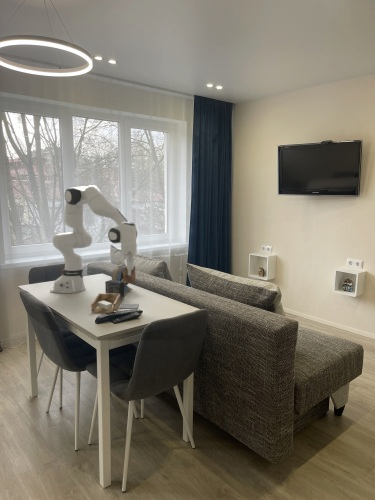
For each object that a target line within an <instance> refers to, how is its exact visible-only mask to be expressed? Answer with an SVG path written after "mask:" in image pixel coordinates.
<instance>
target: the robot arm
mask: <svg viewBox="0 0 375 500" xmlns="http://www.w3.org/2000/svg"><path fill="white" fill-rule="evenodd" d="M64 199H65V209H64V223H65V225H66V226H67V227H69V228H70V229H72V231H71V232H70V231H69V232H61V233H57V234H55V235H54V236H53V239H52V245H53V247H54V248H55V249H56V250H58V251H59V252H60V253H61V254H62V256H63V260H64V268H63V269H62V271H61V276H59V277H58V278H57V279H55V281H54V283H53V286H52V287H51V288H50V289H49V291H50V292H51V293H60V294H61V293H62V294H75V293H78V292H83V291H85V290H86V285H85V282H84V268H83V257H82V256H81V255H80V254H78V253H75V251H74V250H75V249H84V248H88V247H90V246H91V245H92V243H93V236H92V235H91V233H90V232H88V231H87V230H86V229H85V226H84V223H83V221H84V219H83V215H84V205H88V207H89V209H90V210H91V212H93V214H94V215H96V216H100V217H105V218H108V219H111V220H112V221H114V222H115V223H116V225H117V226H114V227H110V228H109V230H108V233H107V238H108V241H110V242H111V244H120V254H121V255H122V256H123V260H124V265H126V267H127V270H128V275H131V270H132V269H133V268H134V266H135V265H134V264H135V263H134V257H135V255H136V254H138V250H137V249H138V248H137V246H138V245H137V238H138V231H137V227H136V224H135V223H134V222H132V221H128V219H127V218H126V217H125V216H124V214H122V213H121V211H120V210H119V209H118V208H117V207H115V206H114V205H113V204H112V203H111V202H110V201H109V200H108V199H107V197H106V196H105V194H103V192H102V191H101V190H100V189H99V188H98V187H97V186H96V185H92V184H91V185H88V186H76V187H74V186H73V187H69V188H67V189H66V190H65V192H64Z"/></svg>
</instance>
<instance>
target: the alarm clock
mask: <svg viewBox="0 0 375 500" xmlns="http://www.w3.org/2000/svg"><path fill="white" fill-rule="evenodd" d="M123 266H126V264H119V265H117V266H116V267H115V268H114V269H113V270H112V271H111V272H112V273H111V280H116V281H123ZM129 284H130V283H124V293H127V292H131V291H133V290H134V289H133V288H132V287H130V286H129Z"/></svg>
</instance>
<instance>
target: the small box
mask: <svg viewBox="0 0 375 500" xmlns="http://www.w3.org/2000/svg"><path fill="white" fill-rule="evenodd" d="M104 283H105V294H120V300H121V299H123V298H125V292H124V283H123V281H116V280H112V279H109V280H106V281H105V282H104Z"/></svg>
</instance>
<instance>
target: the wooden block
mask: <svg viewBox="0 0 375 500" xmlns="http://www.w3.org/2000/svg"><path fill="white" fill-rule="evenodd" d="M123 283H129V284H131V283H133V284H134V283H136V265H134V268H133V269H132V270H131V275H128V270H127V267H126V266H123Z"/></svg>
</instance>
